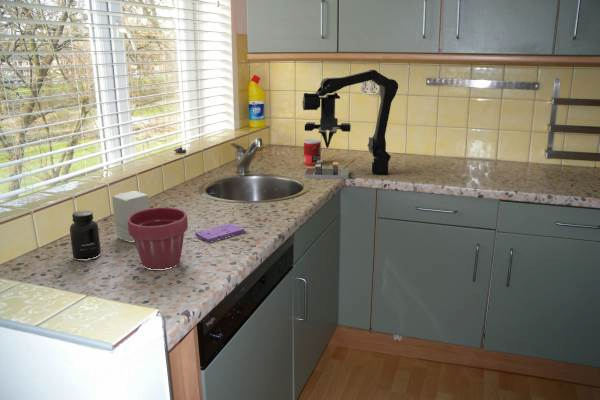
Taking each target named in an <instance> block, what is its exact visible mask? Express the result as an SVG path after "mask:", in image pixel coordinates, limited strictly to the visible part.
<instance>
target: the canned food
mask: <svg viewBox="0 0 600 400" xmlns="http://www.w3.org/2000/svg"><path fill="white" fill-rule="evenodd" d="M321 146H322V144H321V140H319V139H313V138H312V139H311V138H310V139H304V140H303V164H304V165H305V166H309V167H315V165H316V164H317V160H322V159H321V151H322V149H321V148H322V147H321Z"/></svg>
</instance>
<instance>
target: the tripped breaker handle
mask: <svg viewBox="0 0 600 400" xmlns="http://www.w3.org/2000/svg"><path fill="white" fill-rule="evenodd" d="M332 169H333V172H338V169H339V162H337V161H334V162H332Z"/></svg>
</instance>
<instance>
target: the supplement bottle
mask: <svg viewBox="0 0 600 400" xmlns="http://www.w3.org/2000/svg"><path fill="white" fill-rule="evenodd" d="M71 217H72V223H71V225H70V226H69V234H70V235H69V236H70V242H71V253H72V257H74V258H76V259H88V258H93V257H96V256H98V255H99V254H100V253H101V254H102V251H101V242H100V241H101V239H100V230H99V225H98V222H96V221H95V220H94V215H93V211H91V210H78V211H75V212H73V213H72V216H71ZM74 258H73V259H74Z"/></svg>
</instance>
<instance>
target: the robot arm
mask: <svg viewBox="0 0 600 400" xmlns="http://www.w3.org/2000/svg"><path fill="white" fill-rule="evenodd" d="M370 81H372V82H373V83H374V84H376V85H377V86H378V87H379V97H380V104H379V108H378V109H379V110H378V115H377V119H376V120H377V121H376V125H375V131H374V134H373V135H372V137H371V136H369V137H368V144H367V145H366V146H367V147H368V151H369V153H370V154H371V155H372V157H373V161H372V162H371V173H372V174H373V175H377V176H378V175H380V176H382V175H383V176H386V175H387V176H388V175H389V164H390V163H389V162H390V160H391V158H392V156H391V155H390V153H389V152H387V145H386V144H387V142H386V132H387V127H388V121H389V118H390V112H391V107H392V102H393V101H394V99H395V97H396V94H397V92H398V89H399V83H398V82H397V80H396V79H392V78H388V77H387V76H384V75H383V74H381V73H380V72H378V71H377V70H376V69H369V70H366V71H362V72H358V73H354V74H350V75H346V76H342V77H341V76H339V77H325V78H323V79H322V80H321V82H320V85H319V88H318V89H317V91H316V92H315V93H314V92H313V93H309V92H304V93H303V97H302V109H303V111H318V109H319V108H320V120H319V123H318V124H316V122H315V121H314V122H312V121H311V122H305V124H304V131H305V132H312V131H313V130H318V133H319V134H321V136H322V138H323V141H324V144H325V147H326V148H329V147H330V144H331V141H332V138H333V136H334V134H337V132H338V130H340V131H341V132H348V133H349V132H351V130H352V127H351V126H352V124H351V123H350V122H341V123H340V124H338V123H339V121H338V120H339V119H338V118H337V117H336V99H337V100H338V99H339V100H340V99H341V96H340V95H339V94H338V93H337V92H338V91H340V90H341V89H343V88H346V87H350V86H354V85H357V84H361V83H366V82H370ZM327 131H328V133H327Z"/></svg>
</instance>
